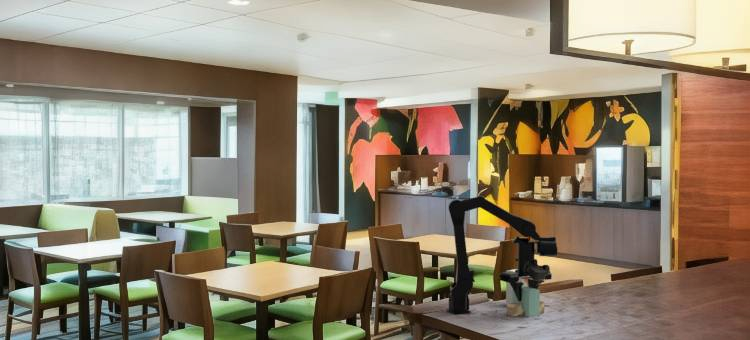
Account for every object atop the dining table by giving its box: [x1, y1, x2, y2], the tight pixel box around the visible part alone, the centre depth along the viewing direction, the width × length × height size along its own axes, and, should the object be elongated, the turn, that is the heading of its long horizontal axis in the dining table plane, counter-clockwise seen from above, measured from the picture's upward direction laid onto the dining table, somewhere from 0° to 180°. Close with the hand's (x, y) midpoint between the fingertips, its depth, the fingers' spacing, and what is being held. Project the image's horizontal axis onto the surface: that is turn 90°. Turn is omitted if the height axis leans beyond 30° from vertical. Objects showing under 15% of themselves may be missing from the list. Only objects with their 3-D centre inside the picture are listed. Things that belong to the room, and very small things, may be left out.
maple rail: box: [506, 299, 545, 317], centre depth 227 cm, size 14×3×4 cm, turn 116°
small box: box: [505, 268, 530, 306], centre depth 241 cm, size 8×6×13 cm
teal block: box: [512, 285, 541, 318], centre depth 227 cm, size 4×9×9 cm, turn 26°
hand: (525, 300), depth 227 cm, fingers open, 5 cm apart
